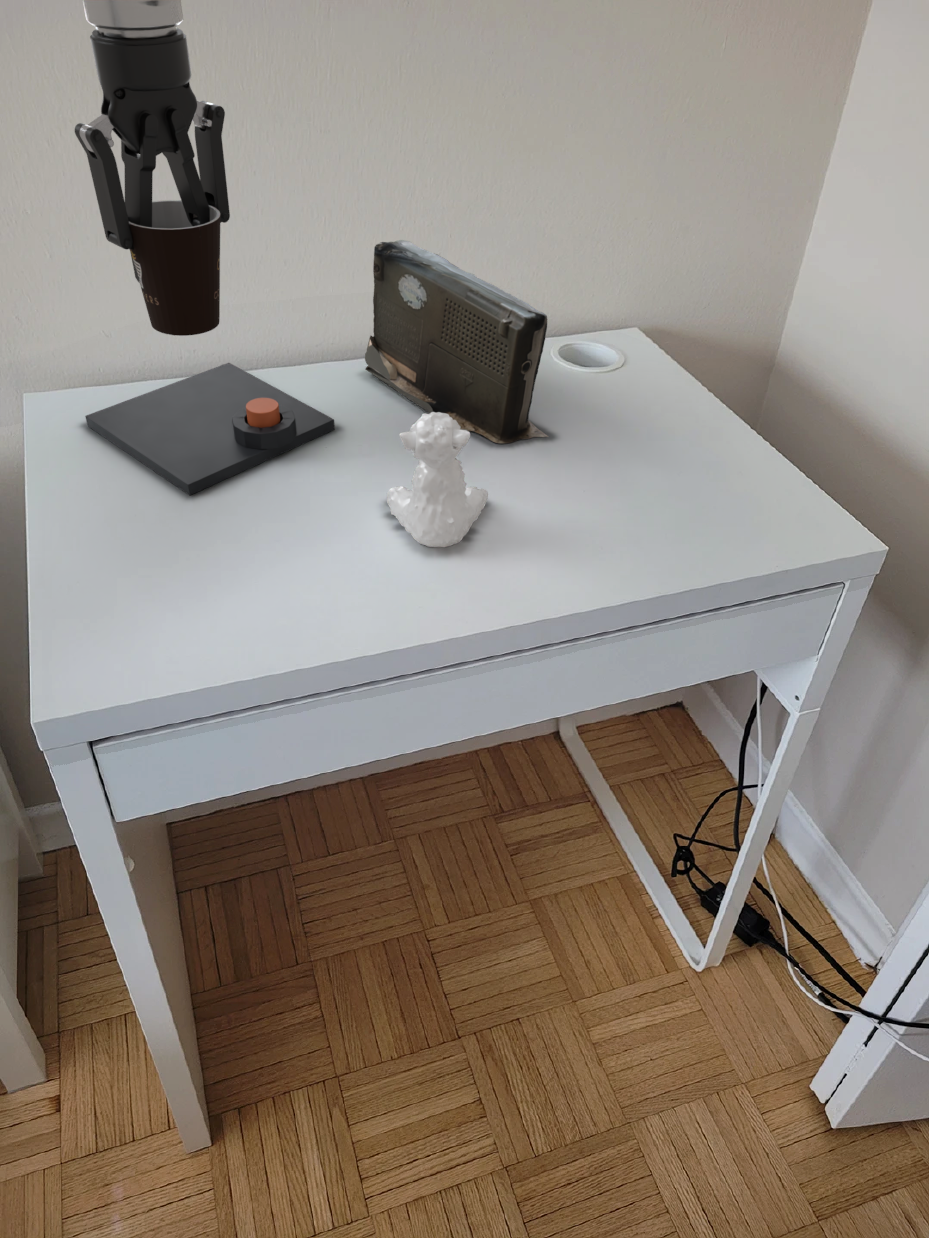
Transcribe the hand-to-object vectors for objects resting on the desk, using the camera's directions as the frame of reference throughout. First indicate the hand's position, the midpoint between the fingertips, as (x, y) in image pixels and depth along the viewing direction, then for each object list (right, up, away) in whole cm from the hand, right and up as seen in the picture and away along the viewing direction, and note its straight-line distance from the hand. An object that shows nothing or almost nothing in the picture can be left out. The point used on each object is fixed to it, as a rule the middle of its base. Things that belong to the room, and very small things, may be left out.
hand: (183, 307), depth 92 cm
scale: (+1, -10, +7) cm, 12 cm away
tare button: (+7, -10, +3) cm, 13 cm away
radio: (+26, -6, +14) cm, 30 cm away
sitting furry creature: (+25, -22, -5) cm, 34 cm away
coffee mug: (0, -1, +1) cm, 1 cm away
